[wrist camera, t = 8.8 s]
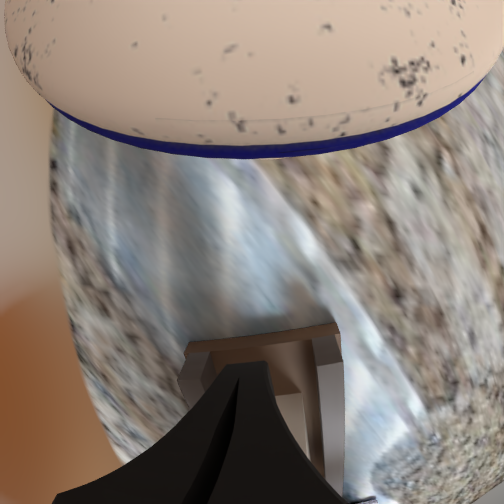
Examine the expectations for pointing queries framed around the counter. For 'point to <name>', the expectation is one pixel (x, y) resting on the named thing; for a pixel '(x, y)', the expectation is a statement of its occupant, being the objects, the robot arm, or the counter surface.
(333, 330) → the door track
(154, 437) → the counter surface
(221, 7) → the teacup with lid
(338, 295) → the counter surface
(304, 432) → the beige rectangular block
